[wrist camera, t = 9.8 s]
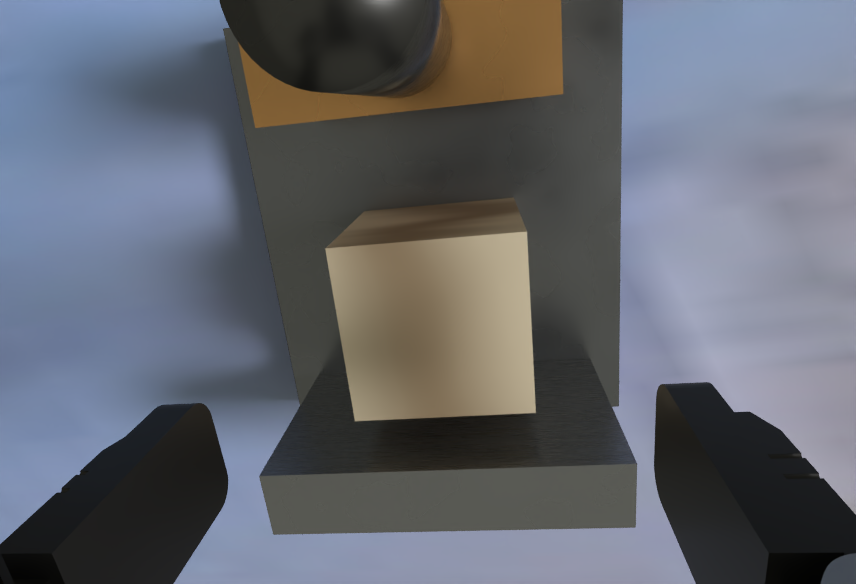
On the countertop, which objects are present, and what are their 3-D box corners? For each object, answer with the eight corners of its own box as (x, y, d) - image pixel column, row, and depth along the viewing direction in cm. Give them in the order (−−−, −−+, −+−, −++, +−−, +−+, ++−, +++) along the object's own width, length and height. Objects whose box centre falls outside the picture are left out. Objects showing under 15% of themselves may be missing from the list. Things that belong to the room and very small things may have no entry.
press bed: (610, -14, 17) (707, -99, 10) (609, 386, 21) (675, 526, 14) (242, 34, 18) (93, -10, 11) (314, 400, 23) (240, 535, 16)
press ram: (534, -15, 15) (650, -253, 5) (538, 96, 16) (642, 85, 6) (299, 17, 16) (-12, -134, 6) (315, 121, 17) (73, 148, 7)
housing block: (513, 197, 18) (527, 231, 13) (521, 337, 19) (535, 412, 15) (364, 211, 18) (325, 248, 14) (383, 346, 20) (354, 421, 15)
